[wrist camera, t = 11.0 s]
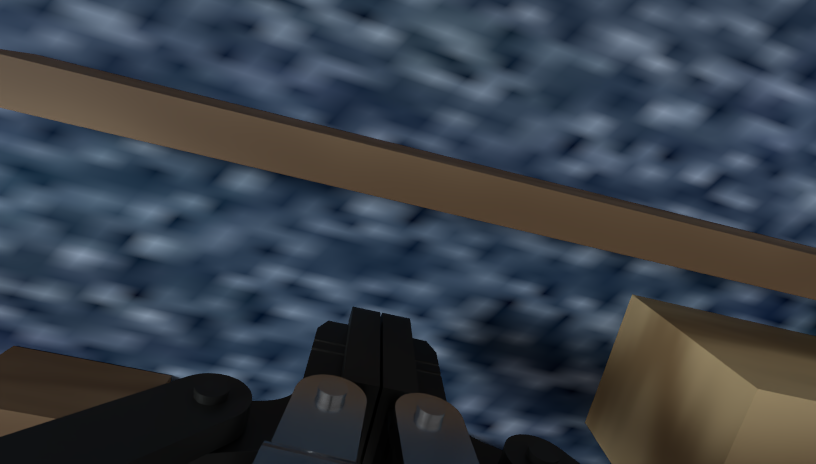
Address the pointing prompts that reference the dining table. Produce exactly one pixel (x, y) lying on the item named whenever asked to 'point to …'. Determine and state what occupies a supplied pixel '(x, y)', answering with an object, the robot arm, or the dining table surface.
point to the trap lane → (354, 170)
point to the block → (705, 390)
